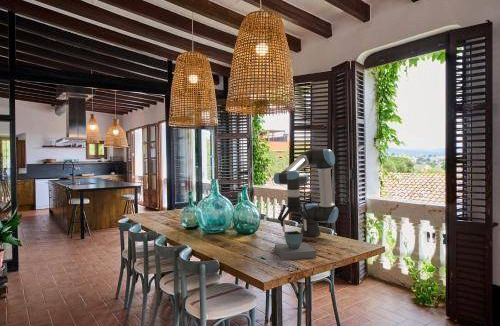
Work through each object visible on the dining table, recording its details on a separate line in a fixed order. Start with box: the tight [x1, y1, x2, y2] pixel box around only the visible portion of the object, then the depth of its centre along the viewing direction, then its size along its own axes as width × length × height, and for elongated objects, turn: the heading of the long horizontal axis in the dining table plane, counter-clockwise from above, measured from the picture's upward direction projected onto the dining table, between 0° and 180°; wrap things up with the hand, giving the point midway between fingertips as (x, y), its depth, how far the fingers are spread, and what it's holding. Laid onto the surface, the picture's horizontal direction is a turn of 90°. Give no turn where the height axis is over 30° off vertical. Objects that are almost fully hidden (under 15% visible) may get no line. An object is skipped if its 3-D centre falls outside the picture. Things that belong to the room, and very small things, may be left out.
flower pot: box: [283, 230, 303, 248], centre depth 206 cm, size 9×9×9 cm
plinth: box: [274, 242, 317, 261], centre depth 206 cm, size 20×20×4 cm
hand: (294, 231), depth 207 cm, fingers open, 13 cm apart
